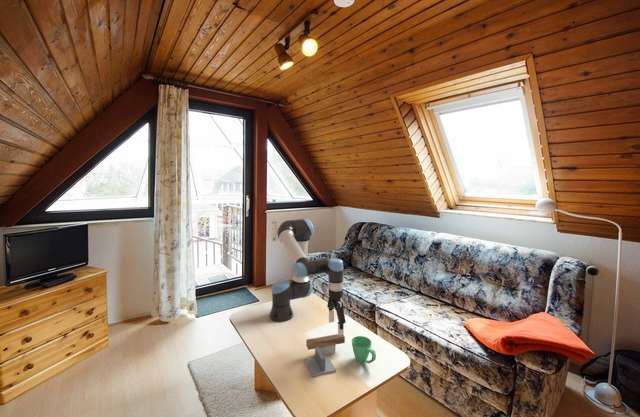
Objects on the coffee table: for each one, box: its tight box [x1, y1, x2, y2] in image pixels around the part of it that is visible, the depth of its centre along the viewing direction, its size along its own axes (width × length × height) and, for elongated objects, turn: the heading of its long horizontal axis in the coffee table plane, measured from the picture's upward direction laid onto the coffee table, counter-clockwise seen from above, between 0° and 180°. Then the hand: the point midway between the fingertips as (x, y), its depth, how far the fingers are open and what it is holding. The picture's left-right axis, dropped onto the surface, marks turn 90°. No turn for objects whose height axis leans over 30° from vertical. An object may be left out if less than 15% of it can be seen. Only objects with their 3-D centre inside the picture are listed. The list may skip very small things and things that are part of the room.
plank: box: [305, 333, 346, 351], centre depth 150 cm, size 4×20×4 cm, turn 108°
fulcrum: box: [304, 347, 337, 378], centre depth 140 cm, size 12×12×7 cm
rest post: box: [320, 344, 337, 356], centre depth 151 cm, size 2×10×5 cm, turn 108°
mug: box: [351, 335, 377, 364], centre depth 143 cm, size 15×10×10 cm
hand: (335, 328), depth 151 cm, fingers open, 13 cm apart
